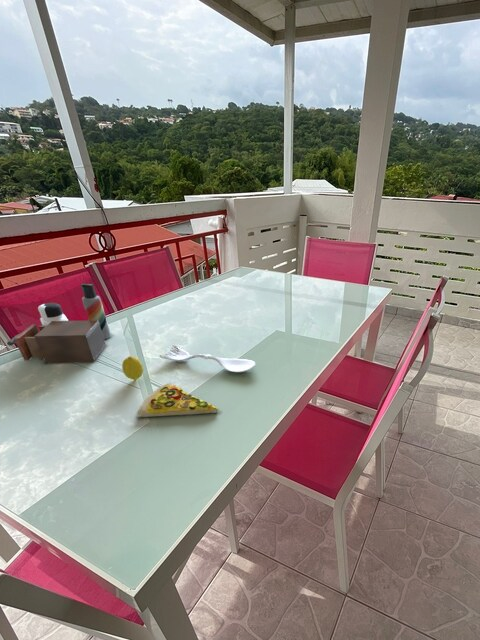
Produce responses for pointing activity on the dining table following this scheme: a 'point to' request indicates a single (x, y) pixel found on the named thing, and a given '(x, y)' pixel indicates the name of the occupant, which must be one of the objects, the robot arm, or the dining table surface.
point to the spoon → (227, 364)
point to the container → (51, 313)
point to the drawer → (28, 343)
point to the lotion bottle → (95, 308)
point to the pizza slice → (173, 403)
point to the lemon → (132, 368)
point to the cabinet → (71, 341)
